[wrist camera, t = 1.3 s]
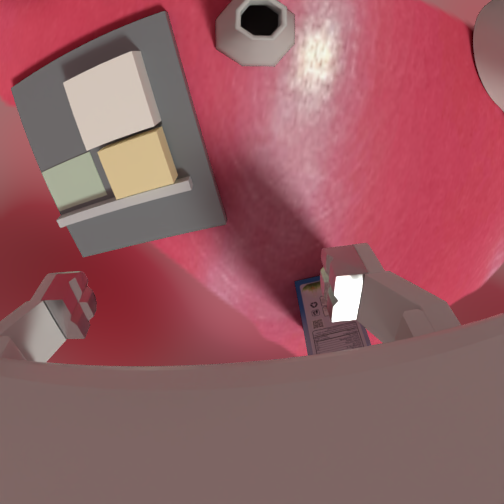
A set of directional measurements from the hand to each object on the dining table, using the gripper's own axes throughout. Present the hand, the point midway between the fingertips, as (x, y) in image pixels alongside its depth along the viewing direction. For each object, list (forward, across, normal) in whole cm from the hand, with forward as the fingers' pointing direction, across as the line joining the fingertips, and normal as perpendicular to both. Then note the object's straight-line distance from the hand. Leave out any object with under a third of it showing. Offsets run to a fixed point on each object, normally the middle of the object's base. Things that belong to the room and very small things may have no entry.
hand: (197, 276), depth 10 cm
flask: (+22, -4, -9) cm, 24 cm away
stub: (+20, +8, +1) cm, 22 cm away
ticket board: (+22, +11, 0) cm, 25 cm away
